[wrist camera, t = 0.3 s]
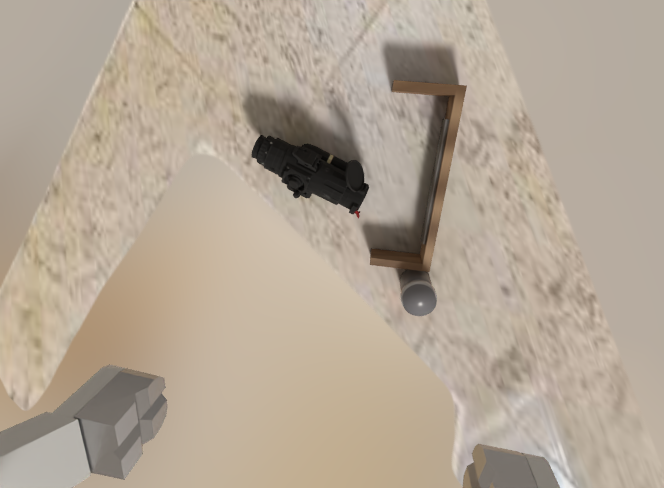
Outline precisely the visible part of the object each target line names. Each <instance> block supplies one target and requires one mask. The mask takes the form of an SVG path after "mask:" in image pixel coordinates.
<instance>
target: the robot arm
mask: <svg viewBox="0 0 664 488" xmlns="http://www.w3.org/2000/svg"><path fill="white" fill-rule="evenodd" d="M165 388H166V387H165V380H164V378H163V377H160V376H156V375H152V374H148V373H144V372H139V371H135V370H131V369H127V368H122V367H118V366H113V365H107V366H105V367H102V368H101V369H100V370H99V371H98V372H97V373H96V374H94V375H93V376H92V377H91V378H90V379H89V380H88V381H87V382H86V383H85V384H83V385H82V386H81V387H80V388H79V389H78V390H77V391H76V392H75V393H74V394H72V395H71V396H70V397H69V398H68V399H67V400H66V401H65V402H64V403H63V404H61V405H60V406H59V407H58V408H57V409H56V410H55V411H54V412H53V413H50V412H45V413H43V414H40V415H38V416H36V417H34V418H31V419H29V420H27V421H24V422H22V423H20V424H18V425H15V426H13V427H11V428H8V429H6V430H4V431H1V432H0V488H73V487H74V486H76V485H77V484H79V483H80V482H82V481H83V480H85V479H86V478H87V477H89V476H90V475H91V473H95V474H100V475H105V476H109V477H114V478H119V479H123V480H124V479H125V478H126V477H127V475H128V474H129V472H130V471H131V470H132V468H133V467H134V465H135V464H136V463H137V461H138V460H139V458H140V457H141V455H142V454H143V444H144V443H146V442H148V441H149V440H151V439H153V438H154V437H155V436H156V434H157V433H158V431H159V430H160V428H161V426H162V424H163V422H164V419H165V417H166V412H167V400H166V398H165V397H164V396H163V395H162V391H163V390H164V389H165ZM472 456H473V460H474V463H472V464H470V465H468V466H467V468H466V471H465V474H464V479H463V488H560V487H559V484H558V482H557V480H556V478H555V476H554V473H553V471H552V469H551V467H550V465H549V463H548V461H547V460H546V459H545V458H544V457H539V456H535V455H530V454H525V453H520V452H517V451H512V450H507V449H502V448H497V447H492V446H487V445H482V444H478V445H476V446H475V448H474V450H473V453H472Z"/></svg>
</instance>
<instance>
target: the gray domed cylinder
mask: <svg viewBox="0 0 664 488" xmlns="http://www.w3.org/2000/svg"><path fill="white" fill-rule="evenodd" d="M400 286H401V302H402V305H403V306H404V308H405V310H406V311H407V312H408V313H410V314H412V315H415V316H424V315H427V314H429V313H430V312H432V311H433V310H434V308H435V306H436V301H437V295H436V292H435V289H434V287H433V286H432V284H431V281H430V277H429V275H428V273H427V272H426V271H418V270H409V269H407V270H406V271H404V272H403V274H402V275H401V277H400Z"/></svg>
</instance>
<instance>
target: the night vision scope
mask: <svg viewBox="0 0 664 488" xmlns="http://www.w3.org/2000/svg"><path fill="white" fill-rule="evenodd" d="M252 158H256V159H257V162H258V163H259V164H261V165H263V166H264V168H266V169H268V170H269V171H271V172H273V173H275V174H277V175H278V176H279V177H281V178H282V182H283V183H285V184H287V188H288V189H289V190H291V191H293V192H294V194H293V196H294V197H295V198H298V197H299V196H300V195H301V196H303V197H305V198H310V196H311V194H312V193H313V194H315V195H317V196H319V197H321V198H323V199H325V200H327V201H329V202H331V203H333V204H336V205H337V204H340V205H342V206H344V207H346V208H348V209H350V211H349V213H351V214H354V213H356V215H357V217H358V218H359V213H360V211H359V212H358V211H357V210H358V209H359V207H360V206H361V204H362V202H363V200H364V198H365V196H366V194H367V191H368V189H369V185H368V184H366V183H364V172H363V168H362V166H361V164H360V163H359V162H358V161H356V160H352V161H350V162H349V163H346V162H344V161H343V160H341V159H339V158H337V157H335V156H333V155H331V154H329V153H327V152H325V151H323V150H321V149H320V148H318V147H316V146H313V145H310V144H304V145H303V146H302V147H300V146H294V145H290V144H288V143H286V142H284V141H282V140H281V139H279V138H277V139H275V138H273V137H271V136H268V137H267V138H266V137H264V136H263V135H260V137H259V138H258V139H257V141H256V143H255V145H254V147H253V150H252Z"/></svg>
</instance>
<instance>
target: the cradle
mask: <svg viewBox="0 0 664 488" xmlns="http://www.w3.org/2000/svg"><path fill="white" fill-rule="evenodd" d="M466 87H467V86H464V85H451V84H438V83H424V82H411V81H398V80H394V81H393V84H392V92H399V93H412V94H424V95H437V96H449V100H448V105H447V110H446V116H445V119H443V121H442V127H441V132H440V138H439V143H438V149H437V154H436V159H435V165H434V170H433V176H432V181H431V187H430V192H429V198H428V203H427V208H426V214H425V219H424V225H423V230H422V236H421V241H422V245H421V250H420V254H415V253H406V252H398V251H389V250H381V249H372V248H371V256H370V265H376V266H384V267H393V268H401V269H409V270H418V271H426V272H429V271H430V266H431V261H432V256H433V251H434V246H435V241H436V236H437V231H438V226H439V221H440V216H441V211H442V206H443V201H444V196H445V191H446V186H447V181H448V176H449V171H450V166H451V161H452V156H453V151H454V146H455V141H456V137H457V132H458V127H459V122H460V117H461V112H462V107H463V102H464V97H465V92H466Z"/></svg>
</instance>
